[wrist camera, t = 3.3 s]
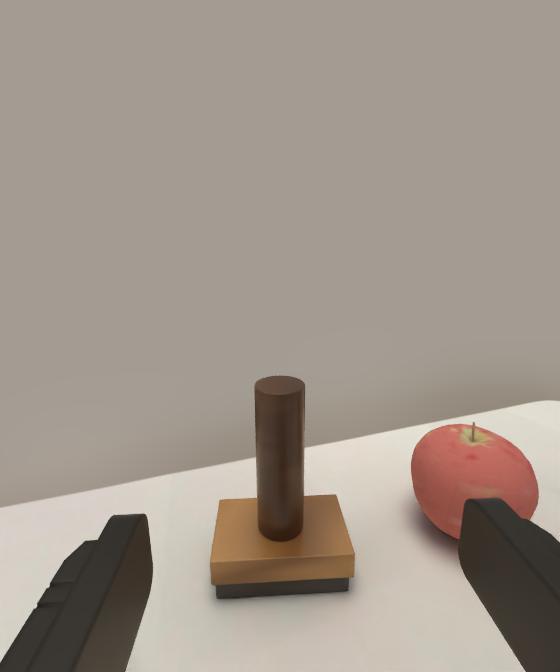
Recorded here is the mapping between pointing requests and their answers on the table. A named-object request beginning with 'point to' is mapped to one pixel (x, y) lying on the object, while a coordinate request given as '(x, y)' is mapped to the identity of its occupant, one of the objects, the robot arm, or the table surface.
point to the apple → (469, 474)
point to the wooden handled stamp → (280, 513)
